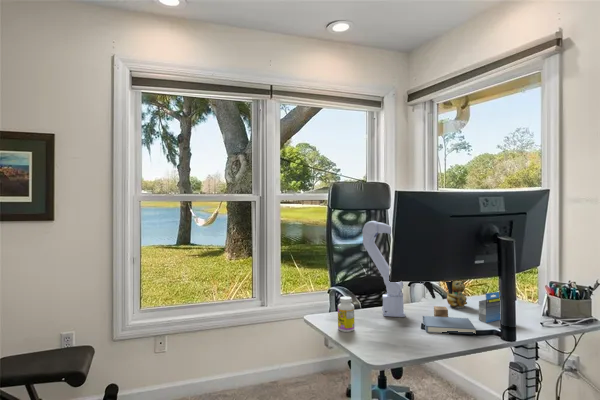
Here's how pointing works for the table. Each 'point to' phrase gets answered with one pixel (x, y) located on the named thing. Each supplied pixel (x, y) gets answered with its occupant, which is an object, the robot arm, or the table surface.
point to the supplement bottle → (346, 314)
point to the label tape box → (489, 308)
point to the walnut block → (440, 311)
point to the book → (447, 324)
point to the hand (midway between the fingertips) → (442, 295)
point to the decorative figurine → (457, 295)
